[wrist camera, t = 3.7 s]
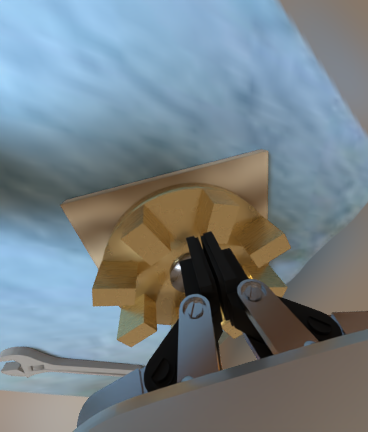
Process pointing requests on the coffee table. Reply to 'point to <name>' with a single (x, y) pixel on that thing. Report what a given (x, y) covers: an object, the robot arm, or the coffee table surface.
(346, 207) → the coffee table surface
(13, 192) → the coffee table surface
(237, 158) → the base plate
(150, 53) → the coffee table surface
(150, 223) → the bevel gear
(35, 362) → the adjustable wrench
